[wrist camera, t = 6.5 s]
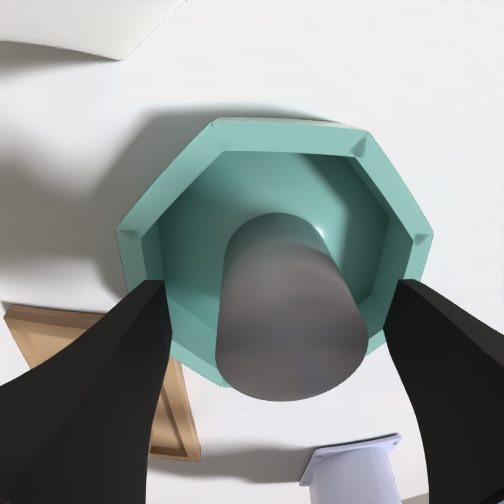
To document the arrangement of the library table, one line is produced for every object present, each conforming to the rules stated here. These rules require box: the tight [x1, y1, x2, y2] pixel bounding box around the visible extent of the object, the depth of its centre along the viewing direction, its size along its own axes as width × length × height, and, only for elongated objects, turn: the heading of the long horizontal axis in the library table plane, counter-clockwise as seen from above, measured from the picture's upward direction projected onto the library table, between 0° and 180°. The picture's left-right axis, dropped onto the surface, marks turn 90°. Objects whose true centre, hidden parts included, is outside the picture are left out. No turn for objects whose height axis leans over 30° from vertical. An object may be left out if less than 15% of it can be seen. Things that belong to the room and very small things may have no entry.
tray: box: [3, 305, 201, 462], centre depth 16 cm, size 14×10×1 cm
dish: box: [116, 117, 434, 387], centre depth 11 cm, size 10×10×3 cm
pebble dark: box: [215, 213, 369, 402], centre depth 10 cm, size 4×4×5 cm
